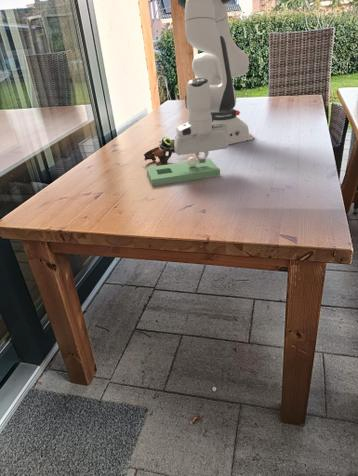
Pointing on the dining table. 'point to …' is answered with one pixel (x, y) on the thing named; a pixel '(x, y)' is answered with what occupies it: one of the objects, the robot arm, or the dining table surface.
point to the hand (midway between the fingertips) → (201, 162)
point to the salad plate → (167, 143)
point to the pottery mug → (158, 155)
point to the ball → (191, 161)
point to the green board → (181, 172)
